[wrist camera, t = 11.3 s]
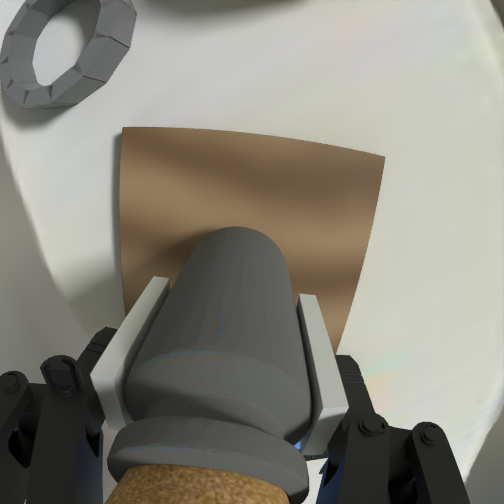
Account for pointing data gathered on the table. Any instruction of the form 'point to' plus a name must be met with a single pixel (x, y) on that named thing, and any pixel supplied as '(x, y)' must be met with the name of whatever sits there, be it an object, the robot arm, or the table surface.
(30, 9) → the collar
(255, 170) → the pad
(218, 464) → the bottle
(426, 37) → the table surface
